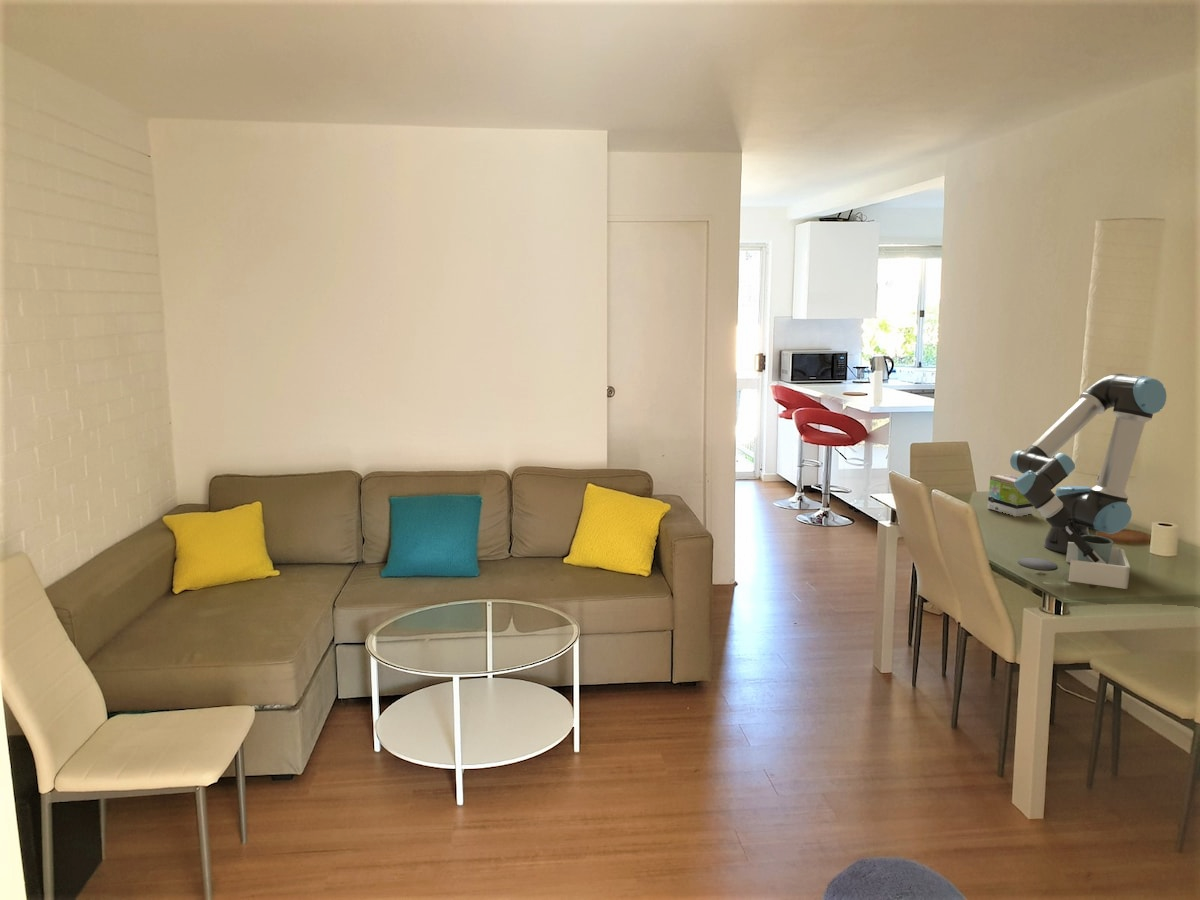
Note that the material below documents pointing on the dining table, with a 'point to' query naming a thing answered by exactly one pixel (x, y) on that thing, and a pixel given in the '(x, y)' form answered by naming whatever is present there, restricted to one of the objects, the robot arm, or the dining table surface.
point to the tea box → (1007, 496)
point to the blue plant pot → (1097, 547)
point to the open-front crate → (1099, 569)
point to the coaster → (1037, 563)
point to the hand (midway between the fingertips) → (1103, 563)
